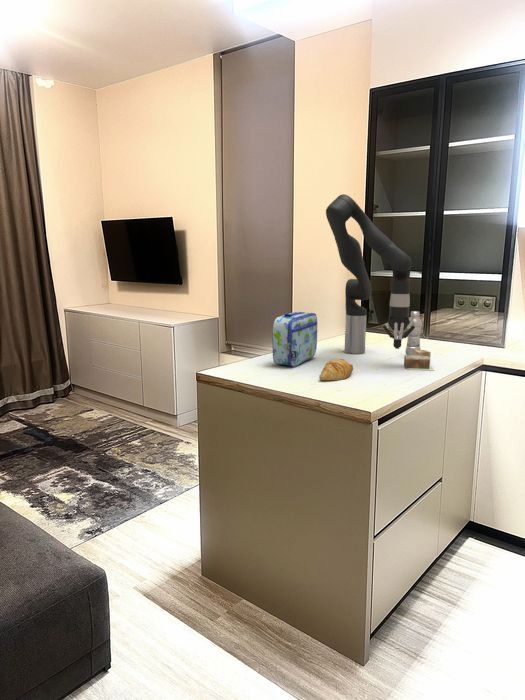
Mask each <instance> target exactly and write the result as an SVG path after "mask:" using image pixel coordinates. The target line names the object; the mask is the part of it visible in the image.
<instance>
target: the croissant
mask: <svg viewBox="0 0 525 700" xmlns="http://www.w3.org/2000/svg"><path fill="white" fill-rule="evenodd" d="M353 370H354V367H353V364H351V363H349V362H348V361H347V360H345V359H343V358H335V359H331V360H329V361H327V362H326V363H325V364H324V366H323V369H322V370H321V371H320V374H319V377H318V378H319V380H320V381H340V380H345V379H347V378H349V377H350V375H351V373H352V372H353Z"/></svg>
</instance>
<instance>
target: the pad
mask: <svg viewBox="0 0 525 700" xmlns="http://www.w3.org/2000/svg"><path fill="white" fill-rule="evenodd" d="M406 369H407V371H429V372H431V371H435V369H434V367H433V366H431V364H430V367H429V369H415V368H406Z"/></svg>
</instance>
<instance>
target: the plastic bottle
mask: <svg viewBox="0 0 525 700" xmlns="http://www.w3.org/2000/svg"><path fill="white" fill-rule="evenodd" d="M420 313H421V312H420V311H419V310H412V311H410V317H409V321H410V324H412V325H413V326H414V327H415V328H414V329H413V331H412V332H411V333H410V334H409V335H408V336H407V341H406V347H405V355H410V356H414V350H422V349H421V332H422V328H423V322H422V320H421V318H420V316H421V315H420ZM406 328H407V330H408V326H407V327H406Z"/></svg>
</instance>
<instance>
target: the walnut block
mask: <svg viewBox="0 0 525 700" xmlns="http://www.w3.org/2000/svg"><path fill="white" fill-rule="evenodd" d="M403 358H404V359H403V366H404V367H405V369H407V368H415V369H429V367H430V365H431V357H430V358H429V357H428V356H410V355H406V354H405V355H404V357H403Z"/></svg>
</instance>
